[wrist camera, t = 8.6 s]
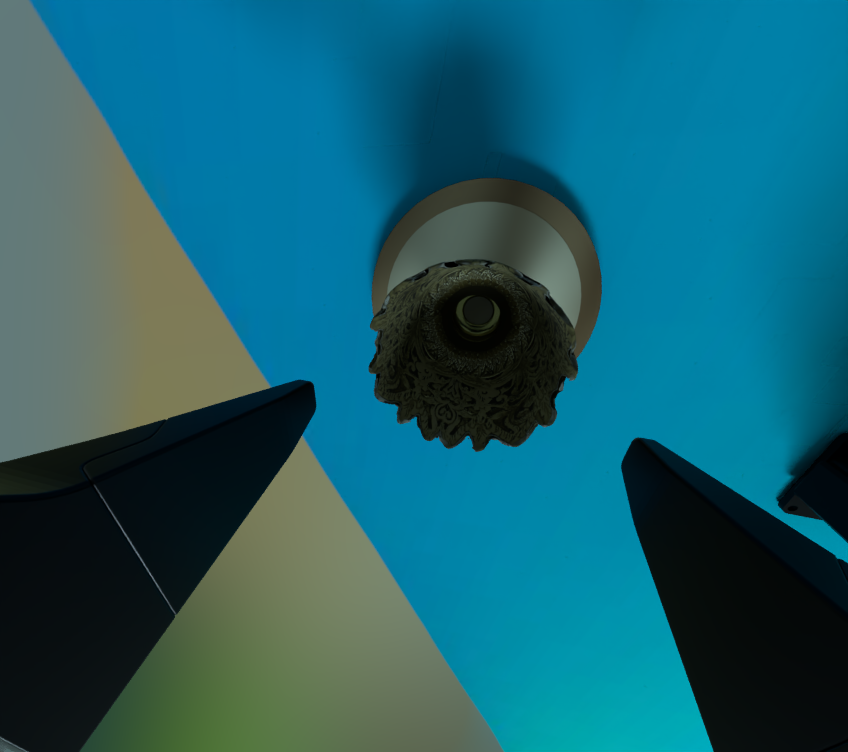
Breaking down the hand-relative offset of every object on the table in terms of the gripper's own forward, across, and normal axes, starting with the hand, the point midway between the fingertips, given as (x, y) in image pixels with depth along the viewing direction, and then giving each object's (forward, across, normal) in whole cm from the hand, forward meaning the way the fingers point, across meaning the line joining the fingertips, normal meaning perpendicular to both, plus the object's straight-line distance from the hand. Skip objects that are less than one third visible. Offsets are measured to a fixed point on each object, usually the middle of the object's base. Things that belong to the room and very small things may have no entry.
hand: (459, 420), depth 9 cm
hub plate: (+12, 0, 0) cm, 12 cm away
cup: (+11, 0, 0) cm, 11 cm away
